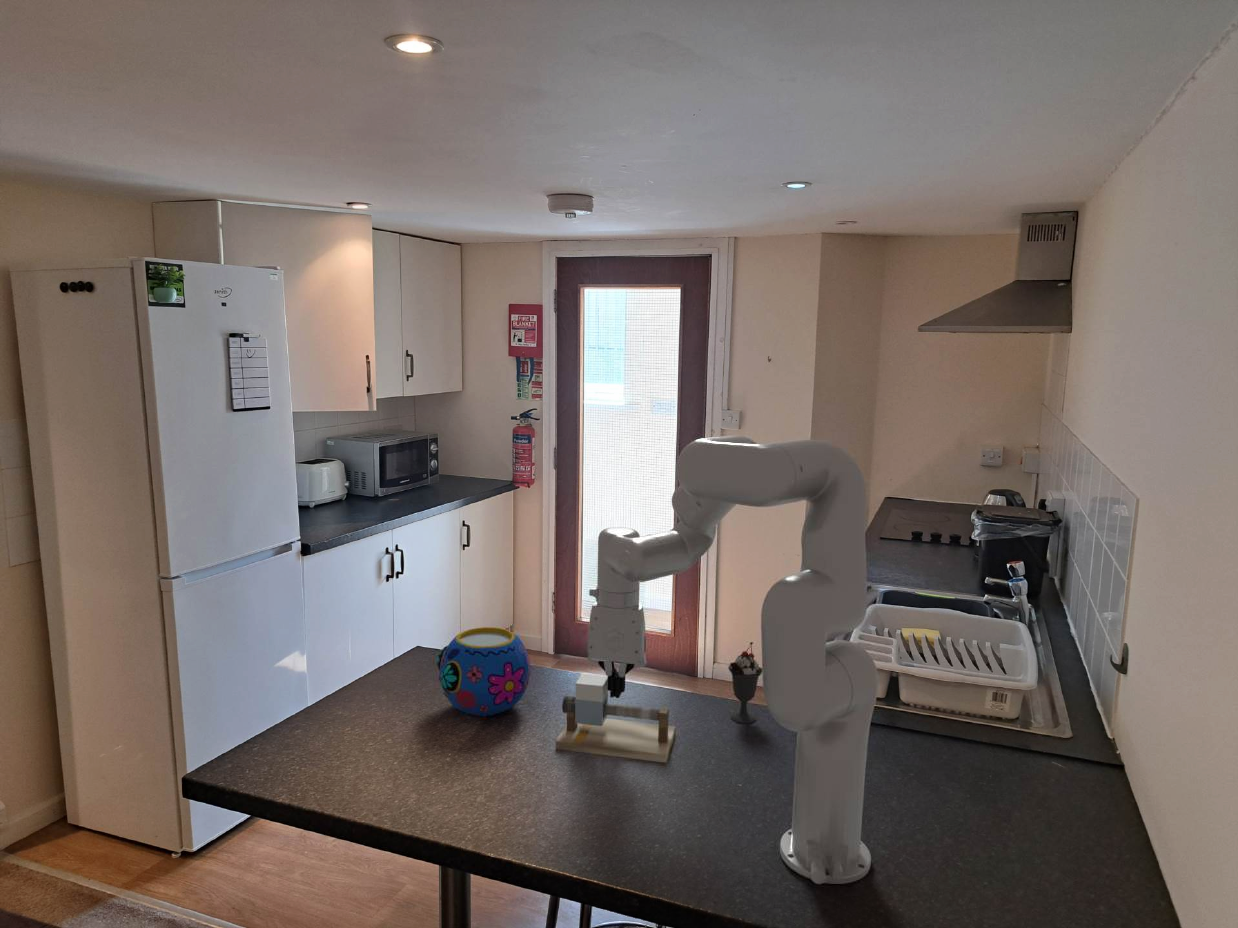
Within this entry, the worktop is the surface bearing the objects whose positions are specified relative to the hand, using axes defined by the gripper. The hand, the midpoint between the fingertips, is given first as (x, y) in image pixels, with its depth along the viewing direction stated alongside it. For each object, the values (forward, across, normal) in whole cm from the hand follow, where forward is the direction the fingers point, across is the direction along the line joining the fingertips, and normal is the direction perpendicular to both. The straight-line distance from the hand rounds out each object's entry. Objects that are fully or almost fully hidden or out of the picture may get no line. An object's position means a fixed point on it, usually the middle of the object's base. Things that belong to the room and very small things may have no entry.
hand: (616, 694), depth 149 cm
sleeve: (+5, -4, 0) cm, 7 cm away
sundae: (+9, +22, +16) cm, 29 cm away
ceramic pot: (+9, -28, +6) cm, 30 cm away
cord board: (+9, 0, 0) cm, 9 cm away
